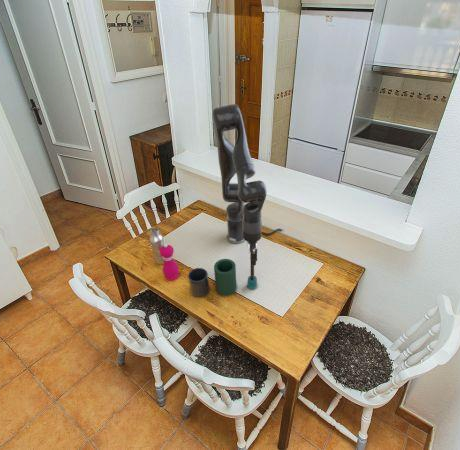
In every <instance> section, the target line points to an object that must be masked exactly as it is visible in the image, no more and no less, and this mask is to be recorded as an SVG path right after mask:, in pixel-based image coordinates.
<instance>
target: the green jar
mask: <svg viewBox="0 0 460 450" xmlns="http://www.w3.org/2000/svg"><path fill="white" fill-rule="evenodd" d="M213 270H214V281H215V282H214V283H215V290H216V292H217V294H218V295H220V296H221V297H222V296H223V297H228V296H232V295H234V294H235V292H236V291H237V268H236V263H235V261H234V260H232V259H229V258H221V259H219V260H217V261H216V262H215V263H214V264H213Z"/></svg>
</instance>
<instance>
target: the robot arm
mask: <svg viewBox="0 0 460 450" xmlns="http://www.w3.org/2000/svg"><path fill="white" fill-rule="evenodd" d="M211 116H212V117H211V119H212V126H213V129H214V134H215V140H216V146H217V157H218V165H219V170H220V178H221V191H222V192H221V195H222V199H223V201H224V202H225V203H230V204H228V205H227V207H226V225H227V227H226V228H227V240H228V241H229V242H230V243H232V244H240V243H242V242H245V241H246V243H247V248H248V254H249V259H250V267H251V266H253V265H254V266H256V265H257V261H258V245H259V244H258V242H259V241H260V240H261V239H262V236H263V235H265V236H271V235H273V234H275V233H276V232H278V231H280V232H282V231H283V229H282V228H276V229H275V230H273V231H272V232H264V231H262V230H263V221H262V210H263V207H264V204H265V201H266V198H267V195H268V188H267V185H266V183H265V182H264V181H263V180H253V181H249V182H247V180H249V179H251V178H253V177H254V176H255V175H256V167H255V166H254V162H253V159H252V156H251V153H250V149H249V145H248V144H249V143H248V138H247V132H246V128H245V122H244V119H243V115H242V111H241V109H240V107H239V106H238V104H236V103H233V104H232V103H231V104H227V105H221V106H218V107H214V108H213V109H212V112H211ZM233 130H236V140H235V143H234V144H233V143H232V142H230V141H229V139H228V138H227V136H226V135H225V132H228V131H229V132H230V131H233ZM235 176H236V179H237V183H231V180H232V179H233V178H234V177H235ZM262 234H263V235H262Z"/></svg>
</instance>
